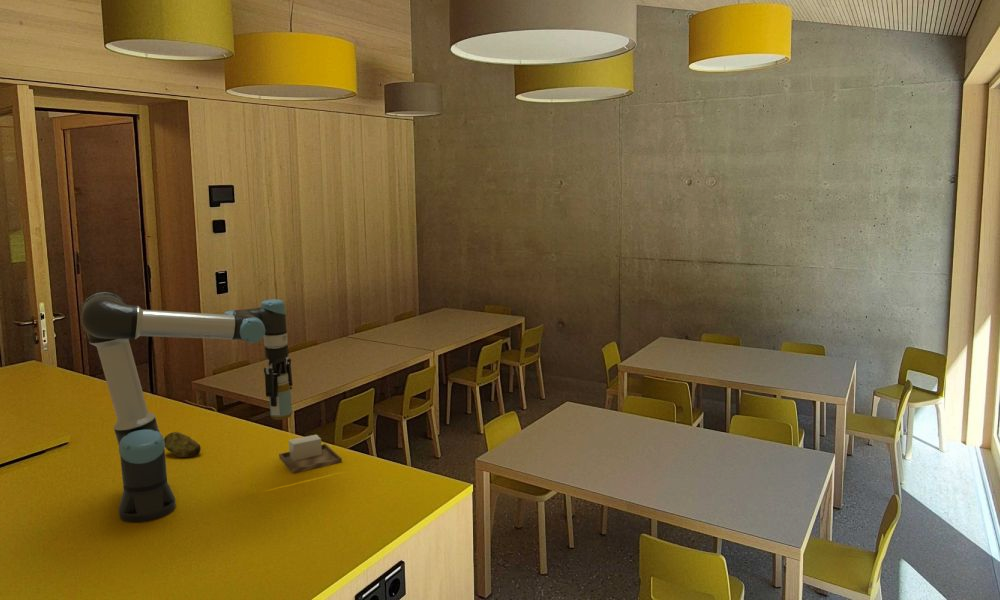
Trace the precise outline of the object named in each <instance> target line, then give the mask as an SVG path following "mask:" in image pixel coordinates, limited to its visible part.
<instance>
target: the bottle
mask: <svg viewBox="0 0 1000 600" xmlns="http://www.w3.org/2000/svg"><path fill="white" fill-rule="evenodd" d="M277 379H278V394H277V397H278V398H279V411H280V415H272V409H271V398H270V397H268V400H269V409H270V410H269V411H270V413H269V414H270V417H271V419H273V420H277V421H283V420H286V419H289V418H291V416H292V415H293V406H292V395H291V390H290V387H291V386H290V385H289V383H288V373H285V374H284V373H281V374H280V377H277Z"/></svg>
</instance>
